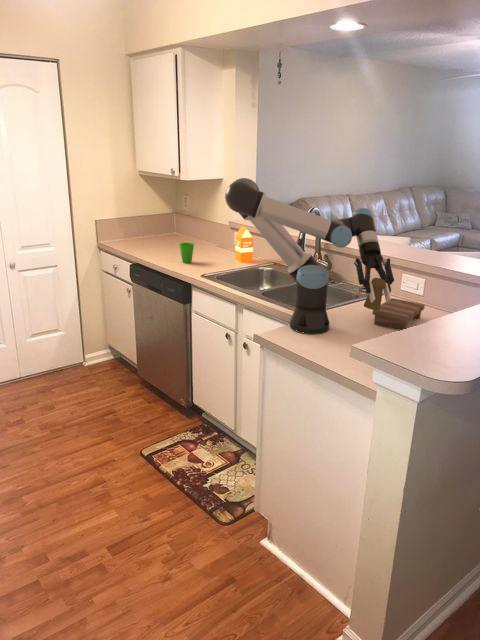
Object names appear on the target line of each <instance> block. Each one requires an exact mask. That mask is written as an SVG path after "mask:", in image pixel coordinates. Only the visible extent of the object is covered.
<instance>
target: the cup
mask: <svg viewBox="0 0 480 640" xmlns="http://www.w3.org/2000/svg"><path fill="white" fill-rule="evenodd" d="M178 245H179V249H180V250H179V251H180V256H181V260H182V261H181V262H182V263H183V264H192V262H193V254H194V249H195V248H194V246H195V243H194V242H179V243H178Z"/></svg>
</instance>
